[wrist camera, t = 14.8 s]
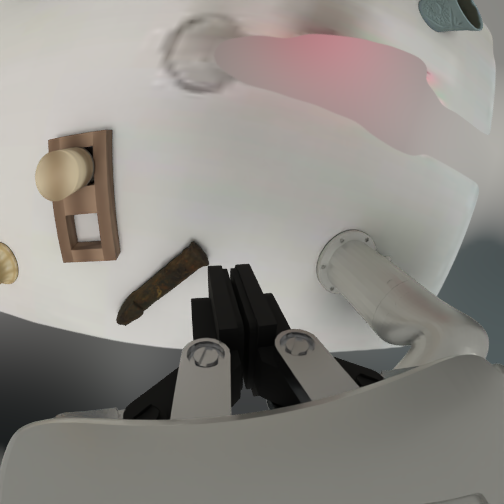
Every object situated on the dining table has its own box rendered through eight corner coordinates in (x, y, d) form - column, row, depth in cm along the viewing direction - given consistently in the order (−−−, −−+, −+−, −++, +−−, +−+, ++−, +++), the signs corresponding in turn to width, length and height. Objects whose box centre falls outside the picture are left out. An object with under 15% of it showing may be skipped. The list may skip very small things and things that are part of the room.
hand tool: (193, 236, 40) (194, 248, 36) (209, 255, 42) (212, 269, 38) (108, 301, 41) (102, 317, 37) (124, 316, 43) (119, 333, 38)
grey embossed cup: (447, 20, 30) (484, 15, 19) (441, 43, 33) (481, 39, 22) (419, -10, 26) (456, -20, 15) (411, 11, 29) (452, 0, 18)
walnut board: (112, 130, 30) (106, 129, 28) (120, 251, 38) (116, 260, 35) (57, 138, 28) (48, 139, 26) (70, 254, 36) (63, 262, 33)
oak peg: (101, 142, 31) (74, 146, 22) (103, 182, 33) (78, 199, 24) (67, 148, 29) (33, 155, 21) (69, 186, 32) (37, 204, 23)
